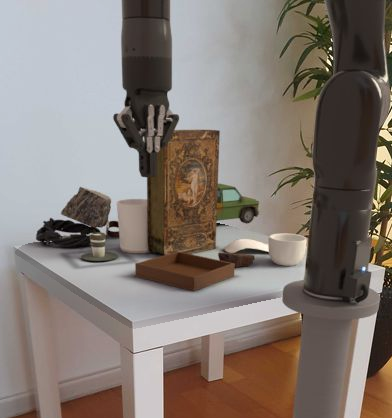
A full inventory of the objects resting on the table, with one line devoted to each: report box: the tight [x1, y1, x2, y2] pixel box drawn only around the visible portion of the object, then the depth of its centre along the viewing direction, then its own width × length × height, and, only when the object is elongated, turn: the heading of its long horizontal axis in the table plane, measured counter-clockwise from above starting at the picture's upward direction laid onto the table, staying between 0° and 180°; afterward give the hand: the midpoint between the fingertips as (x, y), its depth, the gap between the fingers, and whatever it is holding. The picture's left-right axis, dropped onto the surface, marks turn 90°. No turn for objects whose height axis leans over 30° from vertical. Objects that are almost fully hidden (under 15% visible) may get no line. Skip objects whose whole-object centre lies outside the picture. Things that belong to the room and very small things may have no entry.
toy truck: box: [217, 183, 260, 224], centre depth 151 cm, size 11×21×10 cm, turn 120°
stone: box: [217, 252, 256, 268], centre depth 113 cm, size 7×7×3 cm
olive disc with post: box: [80, 232, 119, 262], centre depth 116 cm, size 12×12×5 cm
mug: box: [116, 198, 150, 254], centre depth 123 cm, size 11×9×10 cm
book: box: [146, 129, 221, 256], centre depth 119 cm, size 16×6×25 cm, turn 132°
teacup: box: [267, 232, 308, 267], centre depth 115 cm, size 10×8×5 cm
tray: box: [134, 252, 236, 292], centre depth 105 cm, size 14×12×2 cm
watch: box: [105, 220, 120, 239], centre depth 136 cm, size 8×5×4 cm, turn 4°
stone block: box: [60, 186, 112, 229], centre depth 132 cm, size 14×9×8 cm, turn 176°
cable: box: [35, 217, 102, 248], centre depth 130 cm, size 17×14×4 cm
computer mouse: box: [224, 238, 269, 254], centre depth 125 cm, size 9×12×3 cm
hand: (148, 176), depth 90 cm, fingers closed
